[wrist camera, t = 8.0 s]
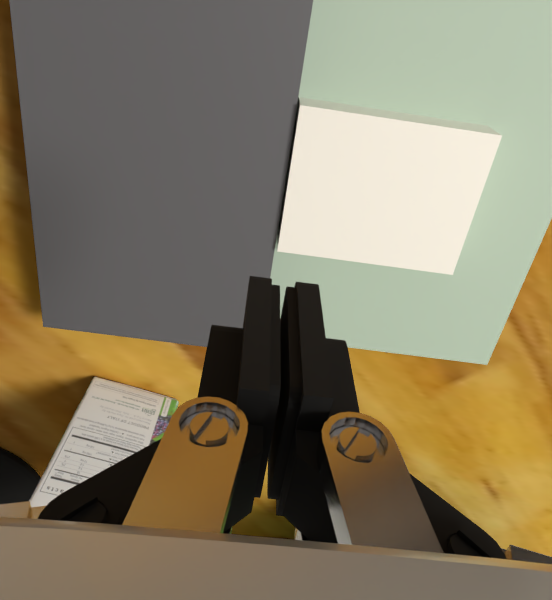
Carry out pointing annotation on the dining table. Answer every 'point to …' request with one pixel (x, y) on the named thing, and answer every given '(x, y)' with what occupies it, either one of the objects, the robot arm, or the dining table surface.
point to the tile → (382, 185)
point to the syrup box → (103, 434)
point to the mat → (453, 106)
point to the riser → (156, 156)
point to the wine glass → (16, 479)
